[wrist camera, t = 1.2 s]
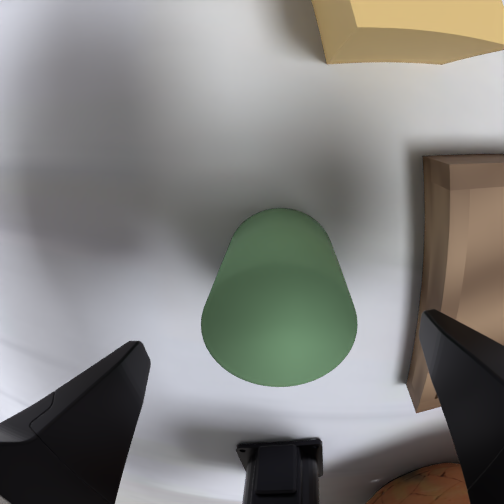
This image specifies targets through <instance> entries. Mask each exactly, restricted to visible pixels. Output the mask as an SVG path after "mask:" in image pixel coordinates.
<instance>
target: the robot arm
mask: <svg viewBox="0 0 504 504" xmlns="http://www.w3.org/2000/svg"><path fill="white" fill-rule="evenodd" d="M419 340H420V343H421V346H422V350H423V353H424V357H425V360H426V364H427V367H428V371H429V374H430V378H431V381H432V383H433V386H434V389H435V391H436V394H437V396H438V399H439V402H440V405H441V407H442V410H443V413H444V416H445V418H446V421H447V424H448V427H449V430H450V433H451V436H452V439H453V442H454V445H455V449H456V452H457V455H458V458H459V462H460V465H461V469H462V472H463V476H464V480H465V483H466V487H467V492H468V496H469V500H470V504H504V345H502V344H500V343H498V342H496V341H494V340H493V339H491V338H489V337H487V336H485V335H483V334H481V333H480V332H478V331H476V330H474V329H472V328H470V327H468V326H466V325H465V324H463V323H461V322H459V321H457V320H455V319H453V318H451V317H449V316H447V315H446V314H444V313H442V312H440V311H438V310H436V309H430V310H425V311H423V312H422V315H421V321H420V328H419ZM150 365H151V363H150V358H149V356H148V354H147V352H146V350H145V348H144V345H143V343H142V342H141V341H129V342H127V343H126V344H124V345H123V346H121V347H120V348H118V349H117V350H115V351H114V352H112V353H111V354H109V355H108V356H106V357H105V358H103V359H102V360H100V361H99V362H97V363H96V364H94V365H93V366H91V367H90V368H88V369H87V370H85V371H84V372H82V373H81V374H79V375H78V376H76V377H75V378H73V379H72V380H70V381H69V382H67V383H66V384H64V385H63V386H61V387H60V388H58V389H57V390H56V391H54V392H52V393H51V394H49V395H48V396H46V397H45V398H43V399H41V400H40V401H38V402H37V403H35V404H33V405H32V406H30V407H28V408H26V409H25V410H23V411H21V412H19V413H18V414H16V415H14V416H12V417H10V418H9V419H7V420H5V421H3V422H1V423H0V504H115V500H116V496H117V493H118V489H119V485H120V481H121V477H122V473H123V470H124V466H125V463H126V459H127V455H128V452H129V448H130V445H131V441H132V438H133V434H134V431H135V428H136V424H137V421H138V418H139V414H140V411H141V408H142V404H143V400H144V396H145V391H146V385H147V380H148V376H149V371H150ZM236 451H237V454H238V456H239V458H240V460H241V462H242V464H243V466H244V468H245V470H246V479H245V487H244V495H243V503H242V504H319V482H318V477H321V476H322V475H323V455H322V441H320V440H308V441H297V442H282V443H258V444H238V445H237V448H236Z"/></svg>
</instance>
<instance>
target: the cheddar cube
mask: <svg viewBox="0 0 504 504" xmlns="http://www.w3.org/2000/svg"><path fill="white" fill-rule="evenodd" d="M311 1H312V4H313V8H314V12H315V16H316V20H317V24H318V28H319V32H320V36H321V40H322V45H323V49H324V54H325V58H326V63H327V64H340V63H363V62H405V63H426V64H440V65H443V64H446V63H450V62H454V61H457V60H461V59H465V58H469V57H473V56H478V55H482V54H487V53H491V52H496V51H501V50H504V6H503V3H502V1H501V0H311Z"/></svg>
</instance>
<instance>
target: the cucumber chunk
mask: <svg viewBox="0 0 504 504" xmlns="http://www.w3.org/2000/svg"><path fill="white" fill-rule="evenodd" d="M201 330H202V336H203V340H204V343H205V345H206V347H207V349H208V351H209V352H210V354H211V355H212V357H213V358H214V359H215V360H216V362H217V363H219V364H220V365H221V366H222V367H223V368H224V369H225V370H227V371H228V372H230V373H231V374H233V375H235V376H236V377H238V378H241V379H243V380H245V381H248V382H251V383H254V384H258V385H263V386H271V387H288V386H295V385H300V384H304V383H308V382H311V381H314V380H316V379H318V378H320V377H322V376H324V375H326V374H327V373H329V372H330V371H332V370H333V369H334V368H336V367H337V366H338V365H339V364H340V363H341V362H342V361H343V360H344V358H345V357H346V356H347V355H348V353H349V351H350V350H351V348H352V346H353V343H354V341H355V337H356V333H357V315H356V311H355V308H354V305H353V302H352V299H351V296H350V293H349V290H348V288H347V285H346V282H345V279H344V276H343V274H342V271H341V268H340V266H339V263H338V260H337V258H336V255H335V252H334V250H333V247H332V244H331V242H330V239H329V237H328V235H327V233H326V232H325V230H324V229H323V228H322V226H321V225H320V224H319V223H318V222H317V221H315V220H314V219H313V218H311V217H310V216H308V215H306V214H304V213H302V212H299V211H296V210H292V209H286V208H276V209H269V210H265V211H262V212H259V213H257V214H255V215H253V216H251V217H250V218H248V219H247V220H246V221H245V222H243V223H242V224H241V225H240V227H239V228H238V229H237V230H236V232H235V234H234V235H233V238H232V240H231V242H230V245H229V247H228V249H227V252H226V254H225V257H224V259H223V262H222V264H221V267H220V269H219V272H218V274H217V276H216V279H215V281H214V284H213V286H212V289H211V291H210V294H209V296H208V299H207V301H206V304H205V306H204V309H203V313H202V318H201Z"/></svg>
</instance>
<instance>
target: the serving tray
mask: <svg viewBox="0 0 504 504" xmlns="http://www.w3.org/2000/svg"><path fill="white" fill-rule="evenodd" d="M423 172H424V201H425V227H424V256H423V272H422V285H421V295H420V305H419V313H418V321H417V328H416V335H415V341H414V347H413V353H412V359H411V364H410V369H409V374H408V379H407V383H406V385H407V388H408V391H409V394H410V397H411V399H412V402H413V405H414V408H415V411H416V413H419V412H423V411H426V410H430V409H434V408H437V407H441V405H440V402H439V399H438V396H437V394H436V391H435V389H434V386H433V383H432V381H431V378H430V374H429V371H428V367H427V364H426V360H425V357H424V353H423V350H422V346H421V343H420V340H419V328H420V321H421V315H422V312H423V311H425V310H430V309H436V310H438V311H440V312H442V313H444V314H446V315H447V316H449V317H451V318H453V319H455V320H457V321H459V322H461V323H463V324H465V325H466V326H468V327H470V328H472V329H474V330H476V331H478V332H480V333H481V334H483V335H485V336H487V337H489V338H491V339H493V340H494V341H496V342H498V343H500V344H502V345H504V154H461V155H434V156H423Z"/></svg>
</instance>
